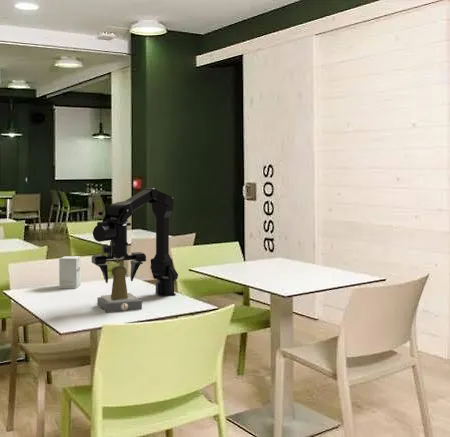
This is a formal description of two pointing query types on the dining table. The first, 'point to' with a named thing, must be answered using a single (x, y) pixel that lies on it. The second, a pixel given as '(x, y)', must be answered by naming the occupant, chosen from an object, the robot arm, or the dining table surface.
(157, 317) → the dining table surface
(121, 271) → the cork
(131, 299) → the kitchen scale
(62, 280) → the supplement box
